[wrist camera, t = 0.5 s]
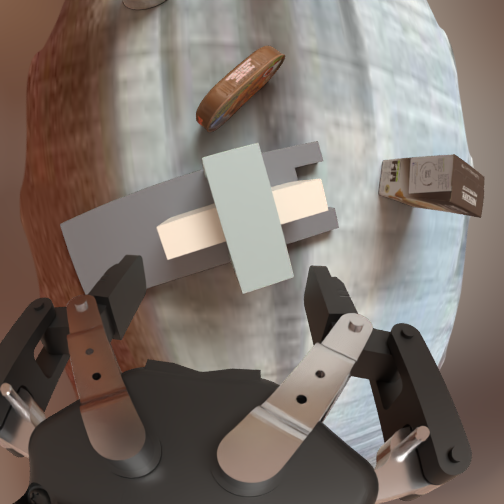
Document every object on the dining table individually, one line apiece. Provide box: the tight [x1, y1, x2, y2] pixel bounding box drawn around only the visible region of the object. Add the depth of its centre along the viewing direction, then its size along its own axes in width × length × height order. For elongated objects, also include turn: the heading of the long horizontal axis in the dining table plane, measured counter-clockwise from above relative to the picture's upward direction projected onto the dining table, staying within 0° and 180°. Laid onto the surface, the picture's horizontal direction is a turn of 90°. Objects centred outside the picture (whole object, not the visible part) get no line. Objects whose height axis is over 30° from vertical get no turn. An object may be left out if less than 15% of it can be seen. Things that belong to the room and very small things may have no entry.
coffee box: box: [379, 154, 484, 218], centre depth 33 cm, size 9×6×16 cm
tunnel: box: [202, 143, 294, 294], centre depth 30 cm, size 13×5×13 cm, turn 16°
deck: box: [60, 141, 339, 295], centre depth 36 cm, size 13×39×2 cm, turn 106°
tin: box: [196, 46, 285, 132], centre depth 30 cm, size 15×3×8 cm, turn 139°
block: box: [157, 179, 328, 260], centre depth 31 cm, size 3×17×10 cm, turn 106°
